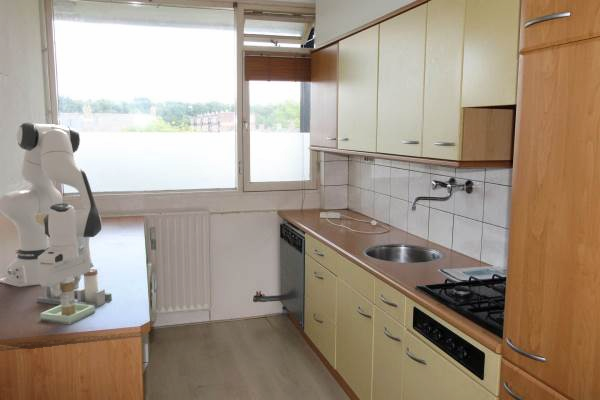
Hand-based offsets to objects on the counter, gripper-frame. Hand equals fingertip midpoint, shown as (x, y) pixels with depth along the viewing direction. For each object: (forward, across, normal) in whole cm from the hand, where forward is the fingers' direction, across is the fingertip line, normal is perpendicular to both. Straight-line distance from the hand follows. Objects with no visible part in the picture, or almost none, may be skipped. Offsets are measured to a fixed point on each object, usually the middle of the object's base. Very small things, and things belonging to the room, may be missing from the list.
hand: (66, 292), depth 180 cm
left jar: (+9, -14, -18) cm, 24 cm away
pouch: (+9, -52, -46) cm, 70 cm away
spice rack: (+9, -14, -10) cm, 19 cm away
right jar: (+9, -14, -2) cm, 17 cm away
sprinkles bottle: (+8, 0, 0) cm, 8 cm away
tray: (+9, 0, 0) cm, 9 cm away
